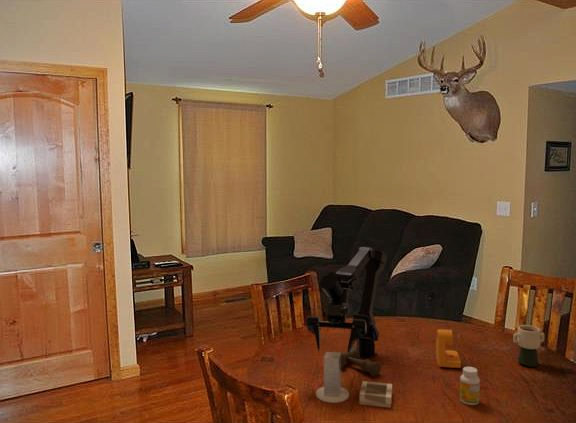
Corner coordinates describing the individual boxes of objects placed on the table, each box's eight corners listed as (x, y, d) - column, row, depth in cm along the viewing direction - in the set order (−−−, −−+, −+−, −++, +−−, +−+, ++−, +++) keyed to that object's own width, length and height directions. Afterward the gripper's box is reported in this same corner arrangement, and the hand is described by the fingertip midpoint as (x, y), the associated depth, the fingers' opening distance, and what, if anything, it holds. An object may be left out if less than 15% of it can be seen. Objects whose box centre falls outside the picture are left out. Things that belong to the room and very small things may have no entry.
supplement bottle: (456, 397, 143) (457, 365, 142) (473, 396, 143) (474, 365, 143) (464, 406, 138) (465, 373, 137) (482, 405, 138) (483, 372, 137)
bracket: (461, 370, 162) (462, 336, 161) (439, 368, 163) (439, 334, 162) (456, 358, 173) (457, 325, 172) (435, 356, 174) (436, 324, 173)
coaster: (309, 392, 147) (309, 390, 147) (335, 384, 152) (335, 383, 152) (329, 406, 138) (329, 404, 138) (355, 397, 144) (355, 395, 144)
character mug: (537, 360, 170) (538, 324, 169) (549, 368, 163) (550, 331, 161) (507, 360, 169) (508, 325, 168) (517, 369, 162) (519, 332, 161)
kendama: (367, 382, 155) (323, 363, 169) (385, 374, 161) (341, 356, 176) (368, 365, 154) (323, 346, 169) (386, 357, 161) (341, 340, 175)
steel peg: (326, 389, 148) (326, 351, 147) (341, 390, 147) (341, 352, 146) (324, 395, 144) (323, 357, 143) (338, 397, 142) (338, 358, 141)
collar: (362, 390, 148) (362, 381, 148) (392, 393, 146) (392, 384, 146) (359, 404, 139) (359, 394, 139) (390, 407, 137) (391, 397, 137)
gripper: (306, 291, 151) (299, 337, 142) (365, 294, 147) (362, 341, 137) (311, 308, 160) (305, 352, 150) (367, 311, 155) (364, 357, 145)
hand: (333, 351), depth 145 cm, fingers open, 9 cm apart
